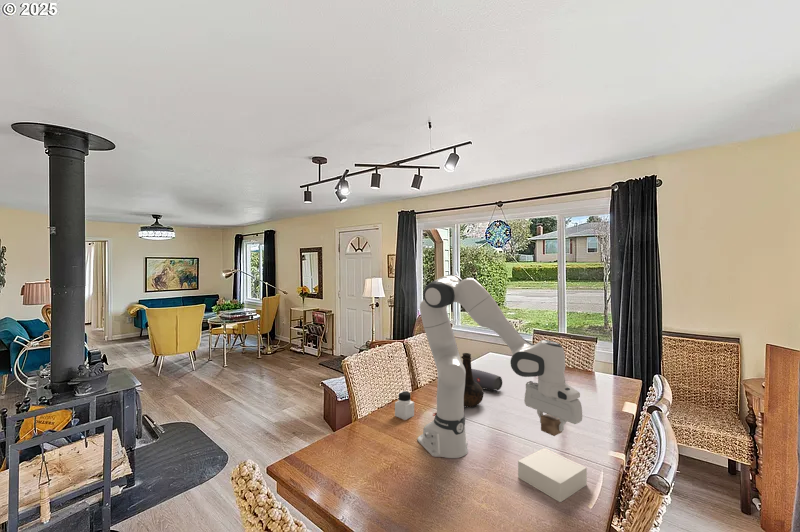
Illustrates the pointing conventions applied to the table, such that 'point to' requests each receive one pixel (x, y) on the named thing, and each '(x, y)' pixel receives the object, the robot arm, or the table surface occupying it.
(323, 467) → the table surface
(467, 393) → the glass bottle
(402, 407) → the medicine bottle
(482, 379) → the bluetooth speaker
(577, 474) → the plate
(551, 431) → the walnut cube
